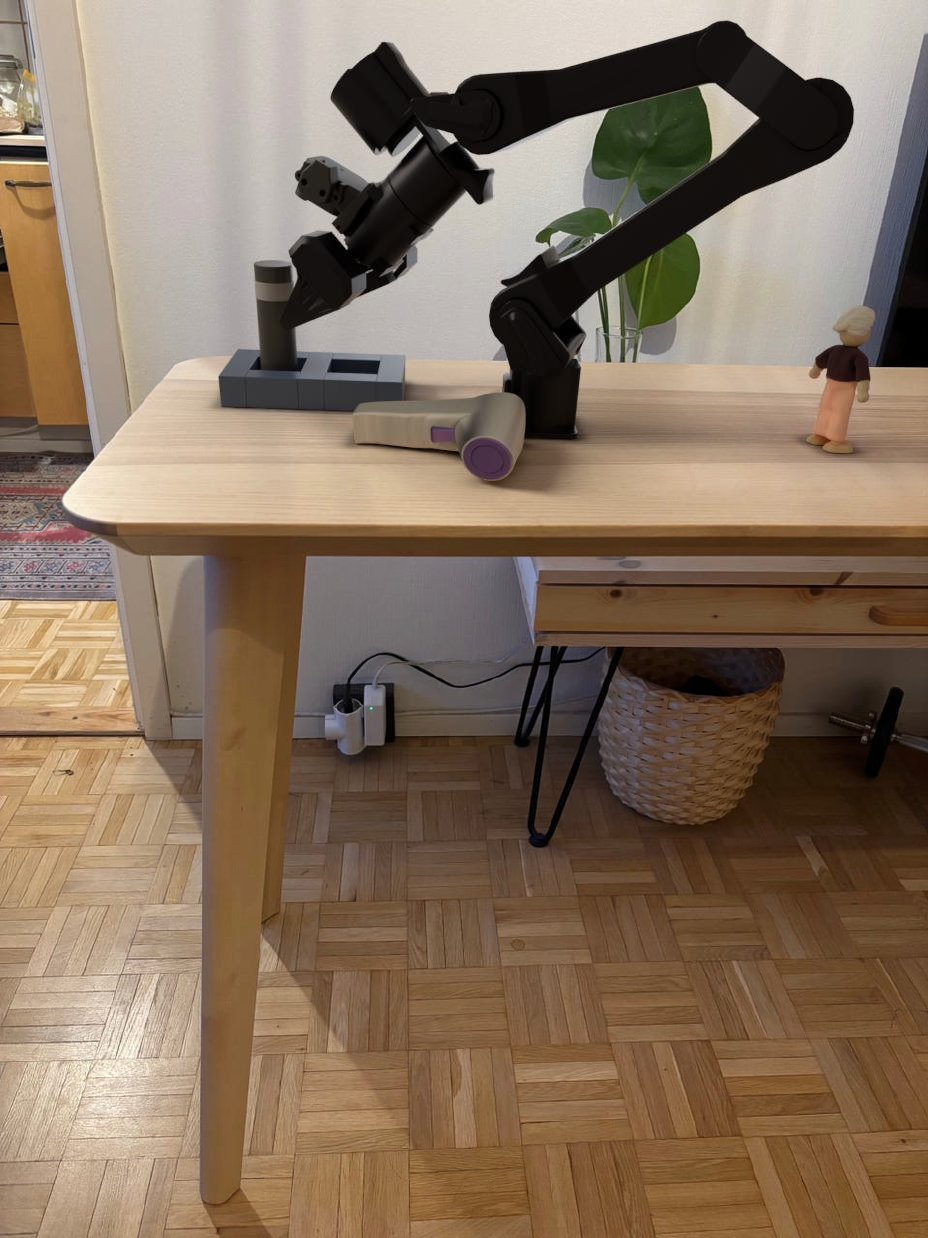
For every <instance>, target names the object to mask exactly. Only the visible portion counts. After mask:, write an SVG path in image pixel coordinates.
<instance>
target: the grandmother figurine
mask: <svg viewBox="0 0 928 1238" xmlns="http://www.w3.org/2000/svg"><path fill="white" fill-rule="evenodd" d="M875 321H876V314H875V311H874V310H873V309H872V308H870V307H868V306H867V305H855V306H853V307H851V308H849V309H847V310H846V311H844V312H843V313H842V314H840V316H839V317H838V318H837V319H836V321H835V323H833V324H832V330H833V332H836V333H837V334H838V335H839V340H840V342H841V344H834V345H832V346H830V347H828V348H826V349H825V350H823V351H822V352H820V353H819V354H818V355H817V356H815V358H814V363H813V364H812V368H811V369H809V371H808V376H809V378H811V379H813V380H815V379H816V380H817V379H818V378H820V375H821V372H823V371H824V370H826V372H825V379H826V382H825V385H824V388H823V391H822V393H821V397H820V400H819V404H818V408H817V413H816V418H815V422H814V426H813V434H811V435H809V436H808V437H807V438H806V443H808V444H811V445H814V446H822V449H823V451H825V452H829V453H834V454H852V453H853V452H854V446H853V444H852V443H851V441H849V440H847V439H846V438H847V435H848V427H849V422H850V418H851V413H852V408H853V405H854V400H855V396H856V401H857V402H858V403H861V404H863V403H867V402H868V401H869V399H870V394H869V391H870V385H871V384H870V383H871V378H872V377H871V371H870V365H869V357H868V356H867V355H866V354H865V353H864V352H863V351H862V350H861V349H860V348H859V347H861V346H863V345H865V344H866V343H867V342H868V340H869V338H870V336H871V332H872V330H871V328H872V327H874V323H875ZM856 391H857V394H856Z"/></svg>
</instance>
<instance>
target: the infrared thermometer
mask: <svg viewBox="0 0 928 1238" xmlns="http://www.w3.org/2000/svg"><path fill="white" fill-rule="evenodd" d="M351 417H352V428H353V429H352V431H353V438H354V439H353V440H354V444H378V445H388V446H396V447H397V446H398V447H406V448H414V449H435V450H446V451H453V452H459V453H458V454H459V455H460V459H461V462H462V464H463V466H464V467H465V469H466V470H467V471H468V472H469V473H470V474H471V475H473V476H474V477H476V478H478V479H481V480H484V481H491V482H493V481H501V480H503V479H505V478H507V476H509V474H511V473H512V471H513V469H514V467H515V465H516V462H517V460H518V458H519V456H520V454H521V453H522V450H523V447H524V440H525V436H524V433H525V422H526V415H525V406H524V403H523V401H522V399H521V398H520V397H518V396H517V395H515V394H511V393H506V392H502V391H501V392H499V391H498V392H497V391H496V392H490V393H489V392H488V393H484V394H480V395H477V396H475V397H468V398H467V397H465V398H449V399H448V398H447V399H428V400H425V399H424V400H403V401H382V402H368V403H361V404H358V406H357V407H356V409H355V410H354V411H352V416H351Z"/></svg>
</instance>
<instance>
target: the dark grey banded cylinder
mask: <svg viewBox="0 0 928 1238" xmlns="http://www.w3.org/2000/svg"><path fill="white" fill-rule="evenodd" d="M293 268H294V265H293V264H292V262H290V261H287V260H278V259H277V260H276V259H267V260H265V259H264V260H258V261H255V262H254V263H253V272H254V273H253V274H254V280H253V282H254V295H255V302H256V316H257V329H258V330H257V331H258V345H259V350H260V360H261V370H267V371H295V372H298V366H297V351H298V348H297V347H298V346H297V327H295V328H292V329H290V330H287V331H286V330H284V328H283V327H282V326H281V325H280V324H279V319H280V317H281V315H282V313H283V310H284V308H285V306H286V304H287V302H288V300H289V297H290V295H291V293H292V291H293V288H294V286H295V281H294V269H293Z"/></svg>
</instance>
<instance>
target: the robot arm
mask: <svg viewBox="0 0 928 1238" xmlns="http://www.w3.org/2000/svg"><path fill="white" fill-rule="evenodd" d="M711 84H715V85H717V86H718V87H719V88H720V89H721V90H723V91H724V92H726V94H728V95H730V96H731V97H732V98H733V99H735V100H736V101H737V102H738V103H739V104H740V105H742V106H743V107H744V108H746V109H747V110H748V111H750V112H751V113H752V114H754V115H755V116H756V117H758V118H757V120H755V121H754V122H753V123H752V124H751V125H750V126H749V127H748V128H747V129H746V130H745V131H744V132H743V133H742V134H741V135H740V136H738V138H736V139H735V140H734V141H733V142H732V143H731V144H730V145H729V146H728V147H727V148H726V149H725V150H724V151H723V152H721V153H720V154H719V155H717V156H715V157H714V158H713V159H712V160H710V161H708V162H707V163H706V164H704V165H703V166H701V167H700V168H698V169H697V170H695V171H694V172H692V173H691V174H689V175H688V176H686V177H685V178H683V179H682V180H681V181H679V182H678V183H676V184H675V185H674V186H672V187H671V188H669V189H668V190H666V191H664V192H663V193H662V194H660V195H659V196H657V197H656V198H655V199H653V200H652V201H650V202H648V203H647V204H646V205H645V206H643V207H641V208H640V209H639V210H637V211H636V212H634V213H633V214H631V215H629V217H627V218H626V219H624V220H623V221H621V222H620V223H618V224H617V225H615V226H614V227H612V228H611V229H610V230H608V231H606V232H605V233H603V234H602V235H601V236H599V237H598V238H597V239H595V240H594V241H592V242H591V243H590V244H588V245H587V246H585V247H584V248H581V249H580V250H577V251H576V252H572V253H569V254H568V255H566V256H563V257H559V254H558V251H557V249H556V247H555V245H553V244H552V245H551V246H549V247H548V248H546V249H545V250H543V251H542V252H540V253H539V254H538V255H537V256H535V257H534V258H533V259H532V260H531V261H530V262H529V263H528V264H527V265H526V266H522V267H519V268H516V270H514V271H513V272H511V273H509V275H507V276H505V277H504V278H502V279H501V280H500V284H501V285H502V286H503V287H504V288H502V289H501V290H500V291H499V292H498V293H497V294H496V295H494V297H493V299H492V300H491V302H490V306H489V313H488V320H489V327H490V329H491V332H492V334H493V336H494V338H496V339H497V341H498V342H499V343H500V345H503V348H504V351H505V356H506V359H507V362H508V366H509V372H504V373H503V375H502V386H501V387H502V388H501V392H506V393H511V394H515V395H517V396H518V397H520V398H521V399H522V401H523V403H524V406H525V415H526V422H525V433H524V437H527V438H528V437H530V438H558V439H559V438H560V439H563V438H565V439H576V438H578V436H579V431H578V428H577V426H576V419H577V410H578V409H577V408H578V402H579V401H578V400H579V391H580V383H581V372H582V366H581V364H580V361H579V360H578V359H577V358H575V357H576V356H577V355H579V353H580V350H581V348H583V347H582V346H583V344H584V342H585V340H586V338H587V332H586V331H585V330H584V328H583V327H582V325H580V324H579V322H578V321H577V320H576V318H575V317H574V316H573V315H574V314H575V313H576V312H577V311H578V310H579V309H580V308H581V307H582V306H583V305H584V304H585V303H587V301H588V300H589V299H591V297H592V296H594V294H596V293H597V292H599V291H600V290H601V289H603V288H604V287H606V286H607V285H609V284H611V283H612V282H614V281H615V280H616V279H618V278H620V277H622V276H623V275H624V274H626V273H627V272H629V271H630V270H632V269H633V268H635V267H636V266H638V265H640V264H641V263H642V262H644V261H646V260H647V259H649V258H651V256H653V255H655V254H656V253H658V252H659V251H662V249H664V248H666V247H667V246H669V245H670V244H672V243H673V242H675V241H676V240H678V239H679V238H681V237H682V236H684V235H685V234H686V233H688V232H690V231H692V230H693V229H695V228H696V227H698V226H699V225H701V224H702V223H704V222H705V221H707V220H709V219H710V218H712V217H713V216H714V215H716V214H717V213H719V212H720V211H722V210H723V209H726V208H727V207H729V206H730V205H731V204H733V203H734V202H735V201H737V200H739V199H741V198H742V197H744V196H746V195H748V194H751V193H753V192H756V191H759V190H761V189H763V188H766V187H768V186H771V185H773V184H776V183H779V182H781V181H783V180H786V179H789V178H790V177H792V176H795V175H798V174H799V173H802V172H804V171H806V170H809V169H811V168H813V167H815V166H818V165H820V164H822V163H824V162H826V161H828V160H830V159H831V158H832V157H833V156H835V155H836V154H837V153H838V152H840V150H842V149H843V147H844V145H845V144H846V143H847V141H848V139H849V137H850V134H851V132H852V129H853V126H854V119H855V118H854V117H855V108H854V104H853V100H852V97H851V95H850V93H849V92H848V91H847V90H846V88H845V87H844V86H843V84H840V83H838V82H837V81H836V80H834V79H830V78H825V77H822V76H821V77H811V78H808V79H805V78H803V77H802V76H801V75H799V73H797V72H795V71H794V70H793V69H792V68H790V67H789V66H788V65H787V64H785V63H784V62H782V61H781V60H780V59H779V58H777V57H776V56H774V54H772V53H770V52H769V51H768V50H766V49H765V48H764V47H762V46H761V45H760V44H759V43H757V42H756V41H754V40H753V39H751V38H750V37H749V36H748V35H747V33H746V31H745V29H743V27H742V26H740V25H739V24H738V23H737V22H734V21H731V20H717V21H715V22H713V23H711V24H709V25H708V26H706V27H704V28H702V29H699V30H696V31H692V32H689V33H684V34H681V35H677V36H674V37H670V38H667V39H664V40H659V41H656V42H653V43H649V44H646V45H642V46H638V47H635V48H631V49H627V50H624V51H621V52H617V53H612V54H609V55H605V56H602V57H599V58H595V59H592V60H587V61H584V62H581V63H577V64H573V65H570V66H566V67H563V68H557V69H543V70H523V71H522V70H521V71H508V72H507V71H506V72H493V73H479V74H473V75H472V76H469V77H468V78H466V79H464V80H463V81H461V82H460V84H458V86H457V87H456V90H455V92H453V93H449V92H448V91H431V92H429V91H428V90H427V88H426V87H425V85H423V83H422V82H421V81H420V79H419V78H418V77H417V75H416V74H415V73H414V71H413V70H412V69H411V68H410V67H409V66H408V64H407V61H406V60H405V58H404V56H403V54H402V52H401V51H400V50H399V48H398V47H397V46H396V45H395V44H394V43H393V42H389V41H381V43H379V44H378V46H377V47H376V48H375V50H374V51H372V52H370V53H369V54H367V55H366V56H364V57H363V58H361V59H360V60H359V61H358V62H357V63H356V64H354V65H353V66H352V68H347V69H346V70H345V71H344V72H343V74H342V75H341V76H340V77H339V79H338V80H337V82H336V84H335V85H334V87H333V88H332V90H331V93H330V101H331V103H332V104H333V106H334V107H336V109H337V110H338V111H339V112H340V114H341V115H342V116H343V117H344V119H345V120H346V122H347V123H348V124H349V125H350V127H352V129H353V130H354V131H355V133H356V134H357V135H358V136H359V137H360V139H361V140H362V141H363V143H365V145H366V146H367V147H368V149H369V150H370V151H371V152H372V154H374V155H375V156H379V155H382V154H383V153H385V152H387V153H388V154H389V155H390V157H392V158H395V157H397V156H399V155H400V154H402V153H403V152H404V151H405V150H407V148H409V146H411V144H413V142H414V141H415V140H417V138H418V137H419V135H420V134H421V137H420V138H419V139H418V140H417V141H416V143H414V145H413V146H412V147H411V148H410V149H409V150H408V152H406V154H404V156H403V157H402V158H401V160H399V161H398V163H396V165H394V166H393V168H392V169H391V171H390V172H389V173H387V175H386V176H385V177H384V178H383V180H381V181H377V182H374V181H372V182H368V181H367V180H366V179H364V178H363V177H362V176H360V175H359V174H357V173H355V172H353V171H352V170H351V169H348V168H347V167H346V166H344V165H343V164H340V163H339V162H337V161H336V160H334V159H332V158H330V157H329V156H325V155H317V156H309V157H307V158H305V159H306V160H305V161H303V163H302V166H301V168H300V169H298V170H297V169H296V171H295V172H294V179H295V180H296V181H297V185H296V189H295V191H294V193H295V195H296V196H297V197H298V198H299V199H300V200H302V201H304V202H307V201H308V202H310V203H311V204H313V205H315V206H317V207H318V208H320V209H321V210H323V211H324V212H327V213H328V214H330V215H332V216H334V217H336V218H335V219H334V220H333V221H332V222H331V225H332V226H333V228H334V229H335V230H336V231H337V232H338V233H339V235H343V237H344V238H343V243H344V244H343V243H342V241H340V240H339V238H338V237H337V236H336V234H334V232H333V231H329V230H314V231H312V232H308V233H305V234H302V235H300V236H299V238H297V240H296V241H295V243H294V244H293V245H292V246H291V247H290V248H289V249H288V255H289V258H290V260H291V263H292V266H293V268H295V271H296V276H297V277H296V281H295V283H294V288H293V291H292V293H291V295H290V297H289V300H288V302H287V304H286V306H285V308H284V310H283V313H282V315H281V317H280V319H279V324H280V325H281V326H282V327H283V328H284V330H286V331H287V330H290V329H292V328H295V327H296V328H297V327H300V326H302V325H304V324H307V323H310V322H312V321H315V320H316V319H319V318H322V317H325V316H327V315H329V314H332V313H334V312H337V311H339V310H342V309H343V308H345V307H348V306H349V305H351V303H352V302H353V301H354V300H355V299H357V298H360V297H363V296H364V295H367V294H369V293H371V292H374V291H376V290H378V289H381V288H383V287H385V286H387V285H390V284H392V283H394V282H395V281H397V280H398V279H400V278H401V277H403V276H406V274H408V272H410V270H412V268H414V266H415V265H416V264H417V263H418V247H417V246H416V245H417V244H418V243H420V242H421V241H423V240H426V239H427V238H428V237H429V236H431V234H432V233H433V232H434V230H435V229H434V227H435V225H436V224H438V222H439V221H440V220H441V219H442V218H443V217H444V216H445V215H446V214H447V213H448V212H449V211H450V210H451V209H452V208H453V206H455V205H456V204H457V203H458V202H459V201H460V200H461V199H462V197H464V195H466V193H468V195H469V196H470V198H471V199H472V200H473V201H474V202H475V204H476V205H477V206H478V205H479V206H480V205H483V204H486V203H489V202H491V201H492V200H493V199H494V184H493V182H494V176H495V173H496V172H495V171H496V170H495V169H494V167H486V168H485V167H481V166H479V164H478V163H477V162H476V161H475V160H474V158H473V157H472V156H471V154H472V155H477V156H485V155H487V156H488V155H493V154H498V153H501V152H506V151H509V150H512V149H514V148H516V147H518V146H520V145H522V144H524V143H527V142H529V141H531V140H533V139H535V138H537V137H540V136H541V135H544V134H545V133H547V132H550V131H551V130H553V129H556V128H557V127H559V126H561V125H564V124H565V123H567V122H569V121H572V120H574V119H576V118H581V117H585V116H588V115H591V114H597V113H601V112H603V111H607V110H611V109H616V108H620V107H623V106H628V105H631V104H632V105H633V104H636V103H639V102H644V101H647V100H651V99H655V98H659V97H662V96H666V95H670V94H674V93H678V92H682V91H685V90H690V89H693V88H697V87H701V86H706V85H711ZM440 131H442V132H445V133H449V134H452V135H453V137H454V138H455V140H456V141H453V142H449V140H447V139H446V137H444V135H443V134H442V133H441V132H440ZM344 245H345V246H346V247H347V248H346V247H345V246H344Z"/></svg>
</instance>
